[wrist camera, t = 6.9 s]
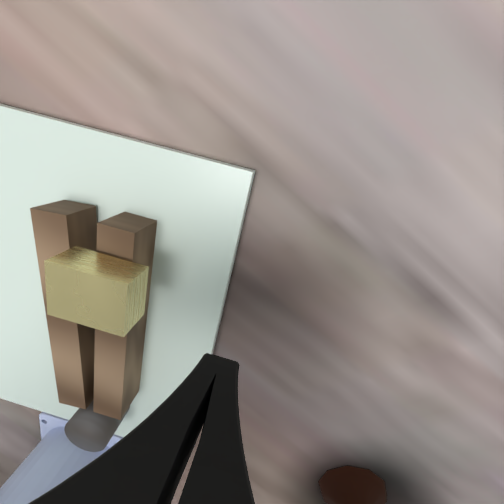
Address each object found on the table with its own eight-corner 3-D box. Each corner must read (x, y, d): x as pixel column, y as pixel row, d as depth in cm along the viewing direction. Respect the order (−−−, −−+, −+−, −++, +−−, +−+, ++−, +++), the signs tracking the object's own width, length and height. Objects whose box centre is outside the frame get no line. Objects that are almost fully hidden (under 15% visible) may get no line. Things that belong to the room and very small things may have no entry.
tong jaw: (106, 383, 22) (85, 409, 20) (82, 377, 22) (59, 402, 20) (95, 205, 16) (66, 215, 14) (63, 199, 17) (29, 208, 14)
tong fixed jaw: (135, 421, 23) (113, 459, 20) (92, 408, 23) (65, 444, 21) (157, 220, 16) (129, 236, 14) (95, 203, 17) (56, 215, 14)
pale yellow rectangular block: (144, 314, 16) (123, 337, 14) (76, 294, 16) (47, 314, 14) (149, 266, 14) (127, 284, 13) (75, 245, 15) (44, 260, 13)
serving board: (191, 445, 25) (187, 457, 24) (-18, 379, 26) (-30, 388, 25) (255, 170, 16) (252, 172, 15) (-75, 83, 17) (-97, 80, 16)
